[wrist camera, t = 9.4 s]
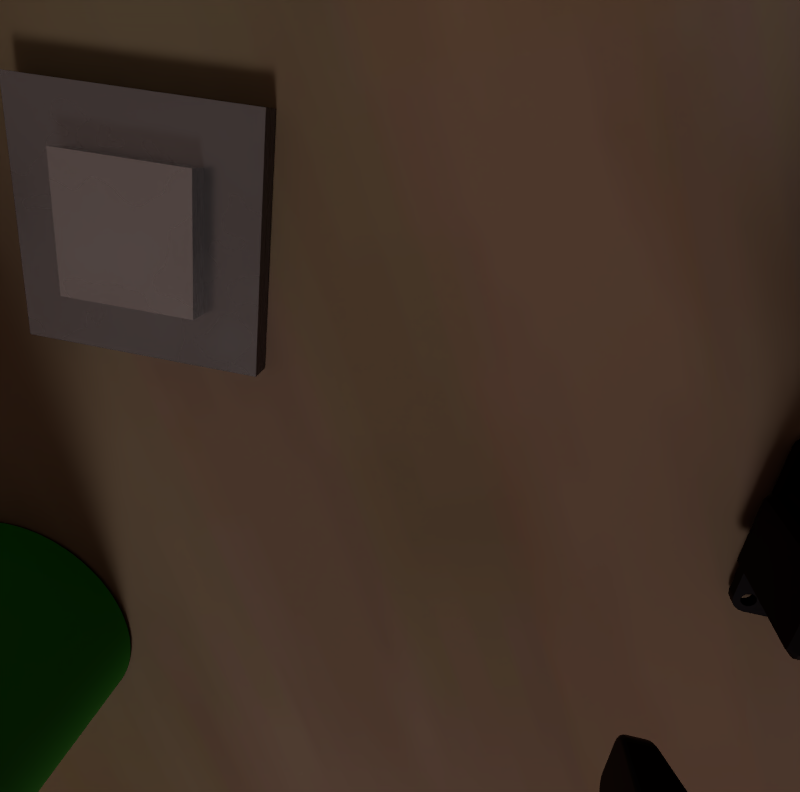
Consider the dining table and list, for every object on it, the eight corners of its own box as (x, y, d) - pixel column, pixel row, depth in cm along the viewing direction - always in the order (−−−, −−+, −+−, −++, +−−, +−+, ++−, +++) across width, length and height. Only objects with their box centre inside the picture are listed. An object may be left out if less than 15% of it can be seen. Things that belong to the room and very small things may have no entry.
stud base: (275, 108, 17) (256, 106, 16) (264, 368, 21) (247, 384, 19) (19, 72, 18) (-21, 66, 17) (46, 327, 21) (15, 339, 20)
